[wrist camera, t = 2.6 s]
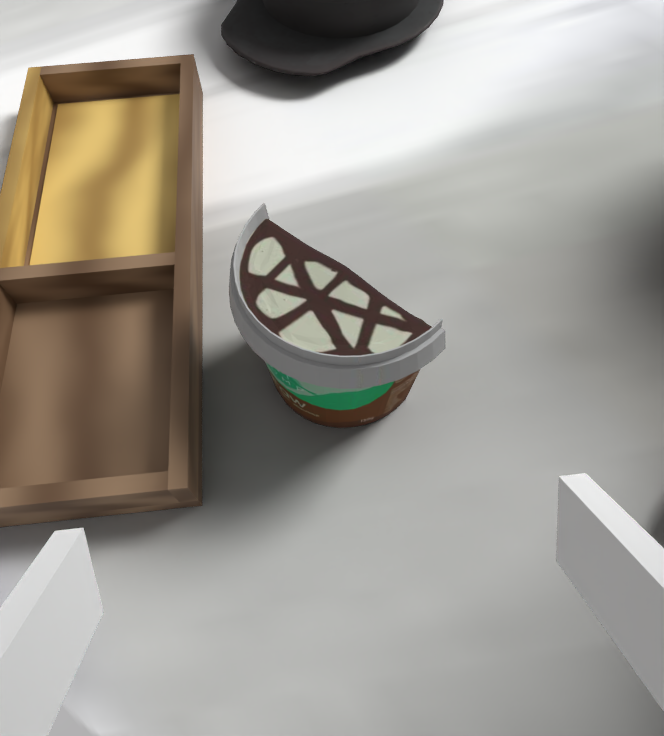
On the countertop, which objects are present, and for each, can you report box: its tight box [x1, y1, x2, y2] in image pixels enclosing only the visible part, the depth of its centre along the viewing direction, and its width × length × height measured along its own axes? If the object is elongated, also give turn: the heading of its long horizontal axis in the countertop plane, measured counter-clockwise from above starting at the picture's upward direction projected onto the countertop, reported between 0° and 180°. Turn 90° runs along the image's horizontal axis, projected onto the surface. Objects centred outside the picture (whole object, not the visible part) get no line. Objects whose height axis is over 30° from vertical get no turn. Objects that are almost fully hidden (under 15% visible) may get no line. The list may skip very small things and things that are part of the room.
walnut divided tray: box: [0, 54, 203, 527], centre depth 39 cm, size 13×36×4 cm, turn 6°
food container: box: [229, 203, 445, 428], centre depth 32 cm, size 12×6×10 cm, turn 50°
